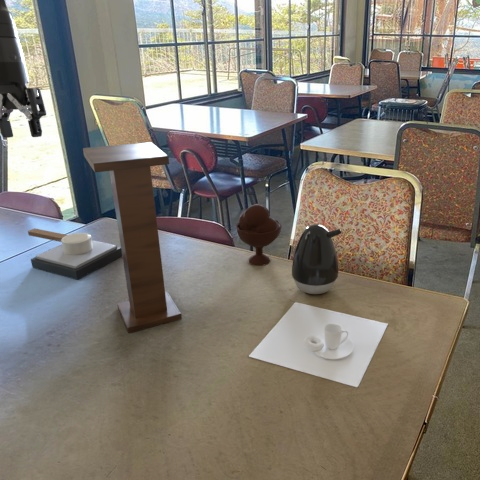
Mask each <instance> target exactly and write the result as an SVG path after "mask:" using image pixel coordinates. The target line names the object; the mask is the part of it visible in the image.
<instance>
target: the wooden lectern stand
mask: <svg viewBox="0 0 480 480" xmlns="http://www.w3.org/2000/svg"><path fill="white" fill-rule="evenodd" d="M82 151H83V158H85V159H86V162H88V164H89V166H90V167H91V169H92V170H93V172H94V173H104V172H109V177H110V184H111V191H112V198H113V205H114V210H115V211H114V212H115V217H116V224H117V231H118V237H119V243H120V247H121V250H122V256H121V257H122V263H123V269H124V276H125V283H126V288H127V296H128V300H125V301H121V302H117V303H116V306H117V309H118V313H119V315H120V317H121V319H122V321H123V325H124V326H125V329H126V331H127V334H131V333H135V332H139V331H142V330H146V329H149V328H152V327H156V326H160V325H164V324H169V323H172V322H175V321H178V320H182V319H183V318H182V317H183V316H182V313H181V311H180V309H179V308H178V307H177V305H176V303H175V302H174V300H173V299H172V297H171V295H170V294H169V292H168V291H167V290H166V289H165V287H166V286H165V279H164V272H163V262H162V253H161V244H160V238H159V228H158V221H157V211H156V203H155V194H154V185H153V177H152V169H151V167H156V166H166V165H170V158H169V155H168V154H167V153H166V152H164V151H163V150H161V149H160V148H159V147H158V146H157V145H155V144H154V143H153V142H151V141H147V142H137V143H125V144H115V145H103V146H92V147H83V148H82Z"/></svg>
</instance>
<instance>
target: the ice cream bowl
mask: <svg viewBox="0 0 480 480" xmlns="http://www.w3.org/2000/svg"><path fill="white" fill-rule="evenodd" d="M238 217H239V218H238V222H236V223H235V225H234V226H235V229H236V231H237V235H238V237H239V239H240V241H242V242H243V243H244V244H245V245H248V246H250V247H253V248H255V253H254V254H252V255H251V256H249V257H248V259H247V262H248V264H250V265H252V266H256V267H257V266H260V267H262V266H265V265H268V264H269V263H270V262H271V258H270V256H269V255H266V254H265V253H264V252H263V251H264V250H263V249H264V247H267V246H269V245H271V244H272V243H273V242H274V241H275V240H276V239H277V238H278V237H279V236H280V234H281V232H282V228H283V227H282V226H283V225H282V224H281V222H280V220H277V219H275V218H273V217H272V216H270V210H269V209H268V208H267V207H265V206H264V205H263V204H259V203H256V204H252V205H250V206H248V207H247V208H246V209H245V210H243V211H242V212H241V213H240V215H239V216H238Z"/></svg>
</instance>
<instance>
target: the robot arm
mask: <svg viewBox="0 0 480 480" xmlns="http://www.w3.org/2000/svg"><path fill="white" fill-rule="evenodd" d="M8 8H9V7H8V4H7V0H0V134H1V136H2V138H4V139H8V138H13V137H14V133H13V127H12V124H11V121H10V120H9V119H10V116H11V113H13V112H14V110H15V111H16V110H18V111H19V112H20V113H23V114H24V116H25V117H26V118H27V119H28V120H27V123H28V128H29V132H30V136H31V137H32V138H39V137H40V138H41V137H42V135H43V130H42V124H41V120H40V119H41V118H42V117H45V116H47V110H46V107H45V103H44V99H43V95H42V91H41V89H40V88H39V87H28V86H27V84H29V83H30V79H29V74H28V70H27V66H26V61H25V56H24V52H23V49H22V45H21V43H20V39H19V35H18V31H17V27H16V22H15V20H14V16H13V14H12V13H11V12H10V10H9V9H8Z"/></svg>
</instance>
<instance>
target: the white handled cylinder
mask: <svg viewBox="0 0 480 480" xmlns="http://www.w3.org/2000/svg"><path fill="white" fill-rule="evenodd" d="M27 234H28V236H29V237H35V238H40V239H45V240H49V241H54V242H60V243H61V244H62V247H63V251H64V253H65V254H68V255H79V254H84V253H87V252H89V251H91V250H92V249H93V244H92V240H93V239H92V235H91V234H90V233H87V232H74V233H70V234H64V233H60V232H55V231H50V230H45V229H39V228H32V229H30V230H27Z"/></svg>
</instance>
